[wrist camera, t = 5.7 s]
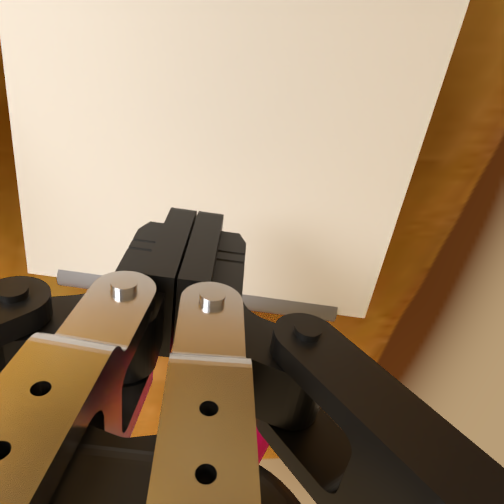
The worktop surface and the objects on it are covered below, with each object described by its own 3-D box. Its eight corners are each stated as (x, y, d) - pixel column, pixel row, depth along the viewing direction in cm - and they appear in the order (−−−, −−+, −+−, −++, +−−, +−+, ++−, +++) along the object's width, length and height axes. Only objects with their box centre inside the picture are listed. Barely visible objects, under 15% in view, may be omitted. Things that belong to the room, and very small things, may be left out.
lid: (-16, -263, 12) (-43, -289, 11) (511, -166, 13) (533, -181, 12) (39, 270, 20) (27, 285, 19) (357, 313, 21) (362, 330, 20)
